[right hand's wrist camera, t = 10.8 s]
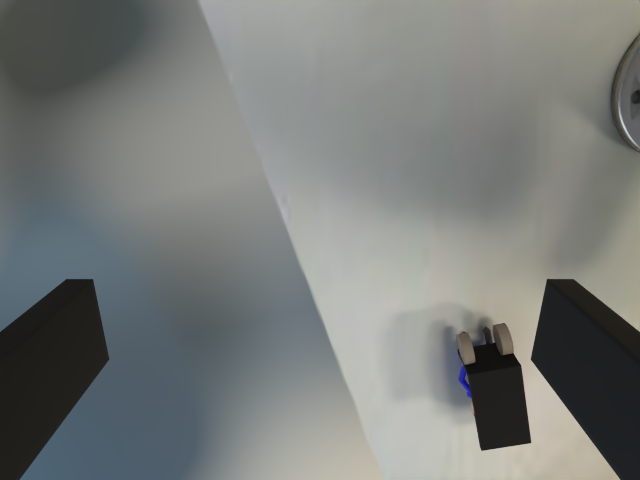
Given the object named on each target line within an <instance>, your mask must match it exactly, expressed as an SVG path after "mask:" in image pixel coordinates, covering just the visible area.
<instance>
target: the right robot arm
mask: <svg viewBox="0 0 640 480" xmlns="http://www.w3.org/2000/svg"><path fill="white" fill-rule="evenodd" d="M612 113H613V118H614V121H615V124H616V127H617V129H618V131H619V133H620V134H621V136H622V137H623V139H624V140H625V141H626V142H627V143H628V144H629V145H630V146H631V147H633V148H634V149H636V150H637V151H639V152H640V36H639V37H638V38H637V39H636V40H635V42H634V43H633V44H632V46H631V47H630V48H629V50H628V51H627V53H626V55H625V56H624V58H623V60H622V62H621V64H620V66H619V69H618V71H617V74H616V77H615V81H614V85H613V90H612ZM108 360H109V356H108V351H107V346H106V341H105V336H104V332H103V327H102V322H101V317H100V312H99V307H98V302H97V297H96V292H95V287H94V282H93V279H66V280H65V281H64V282H62V283H61V284H60V285H59V286H57V287H56V288H55V289H54V290H52V291H51V292H50V293H49V294H47V295H46V296H45V297H44V298H42V299H41V300H40V301H39V302H37V303H36V304H35V305H34V306H32V307H31V308H30V309H29V310H27V311H26V312H25V313H24V314H22V315H21V316H20V317H19V318H17V319H16V320H15V321H14V322H12V323H11V324H10V325H8V326H7V327H6V328H5V329H3V330H2V331H1V332H0V480H19V479H20V478H21V477H22V475H23V474H24V473H25V471H26V470H27V469H28V467H29V466H30V465H31V463H32V462H33V461H34V459H35V458H36V457H37V455H38V454H39V453H40V451H41V450H42V449H43V447H44V446H45V445H46V443H47V442H48V441H49V439H50V438H51V437H52V435H53V434H54V433H55V431H56V430H57V429H58V427H59V426H60V425H61V423H62V422H63V420H64V419H65V418H66V416H67V415H68V414H69V413H70V411H71V410H72V408H73V407H74V406H75V404H76V403H77V402H78V400H79V399H80V398H81V396H82V395H83V394H84V392H85V391H86V390H87V388H88V387H89V386H90V384H91V383H92V382H93V380H94V379H95V378H96V376H97V375H98V374H99V372H100V371H101V370H102V368H103V367H104V366H105V364H106V363H107V362H108ZM531 360H532V362H533V363H534V364H535V366H536V367H537V368H538V370H539V371H540V372H541V374H542V375H543V376H544V378H545V379H546V380H547V382H548V383H549V384H550V386H551V387H552V388H553V390H554V391H555V392H556V394H557V395H558V396H559V398H560V399H561V400H562V402H563V403H564V404H565V406H566V407H567V409H568V410H569V411H570V413H571V414H572V415H573V417H574V418H575V419H576V421H577V422H578V423H579V425H580V426H581V427H582V429H583V430H584V431H585V433H586V434H587V435H588V437H589V438H590V439H591V441H592V442H593V443H594V445H595V446H596V447H597V449H598V450H599V451H600V453H601V454H602V455H603V457H604V458H605V459H606V461H607V462H608V463H609V465H610V466H611V467H612V469H613V470H614V471H615V473H616V474H617V475H618V477H619V478H620V480H640V332H639V331H638V330H637V329H635V328H634V327H633V326H632V325H630V324H629V323H628V322H627V321H625V320H624V319H623V318H622V317H620V316H619V315H618V314H616V313H615V312H614V311H613V310H611V309H610V308H609V307H608V306H606V305H605V304H604V303H603V302H601V301H600V300H599V299H598V298H596V297H595V296H594V295H593V294H591V293H590V292H589V291H588V290H586V289H585V288H584V287H583V286H581V285H580V284H579V283H578V282H576V281H575V280H574V279H547V282H546V287H545V292H544V297H543V302H542V307H541V312H540V317H539V322H538V326H537V331H536V336H535V341H534V346H533V351H532V356H531Z"/></svg>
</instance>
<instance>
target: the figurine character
mask: <svg viewBox="0 0 640 480" xmlns="http://www.w3.org/2000/svg"><path fill="white" fill-rule="evenodd" d="M484 335H485V340H486V345H480V346H475V347H473V346H472V343H471V340H470V337H469V335H468V333H465V332H463V334H458V335H457V343H458V348H459V350H458V354H459V357H460V359H461V361H462V369H461V373H460V377H459V381H460V383H461V384H462V385H463V386H464V388H465V389H466V390H467V396H468V397H470V398H472V412H473V414H474V416H475V420H476V426H477V432H478V438H479V443H480V448H481V450H482V451H483V450H489V449H496V448H502V447H508V446H515V445H521V444H528V443H531V437H530V430H529V422H528V414H527V407H526V399H525V392H524V384H523V376H522V369H521V365H520V363H519V362H518V360H517V358H516V357H515V355H514V354H513V342H512V338H511V335H510V332H509V330H508V327H507V326H506V324H505V323H502V324H497V325H493V335H494V339H495V343H493V342H492V337H491V331H490V330H489V329H488V328H487V327H485V329H484ZM466 373H467V375H468V380H469V384H468V383H467V382H466V381H465V376H466Z"/></svg>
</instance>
